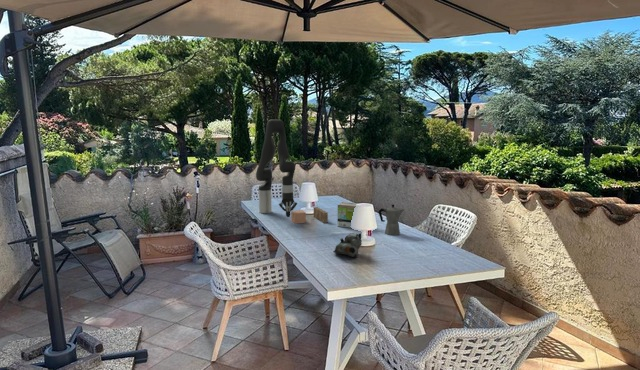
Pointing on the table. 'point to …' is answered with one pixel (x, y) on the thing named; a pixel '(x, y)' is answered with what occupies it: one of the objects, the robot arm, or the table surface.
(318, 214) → the walnut board
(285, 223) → the table surface
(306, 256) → the table surface
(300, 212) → the terracotta block
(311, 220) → the table surface
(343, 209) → the tea box
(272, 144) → the robot arm
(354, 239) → the dark binoculars
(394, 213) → the coffeepot
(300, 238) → the table surface
